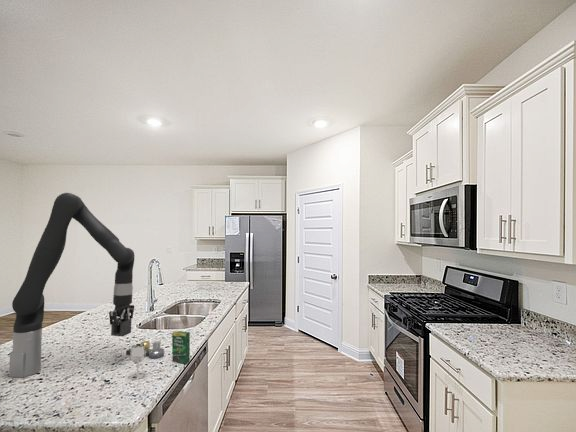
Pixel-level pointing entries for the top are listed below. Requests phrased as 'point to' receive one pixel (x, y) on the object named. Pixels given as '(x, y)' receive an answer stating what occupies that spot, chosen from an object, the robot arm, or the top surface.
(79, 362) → the top surface
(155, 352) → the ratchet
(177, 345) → the coffee box
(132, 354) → the wineglass
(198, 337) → the top surface
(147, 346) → the socket
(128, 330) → the socket
